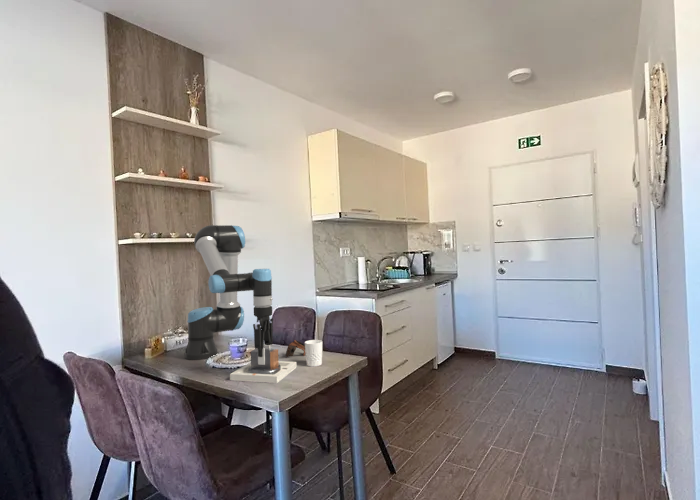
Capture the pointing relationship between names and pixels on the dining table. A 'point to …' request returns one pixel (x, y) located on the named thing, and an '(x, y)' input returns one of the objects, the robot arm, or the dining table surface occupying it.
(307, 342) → the white cup
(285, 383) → the dining table surface
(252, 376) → the dial panel
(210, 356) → the robot arm
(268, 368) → the dial
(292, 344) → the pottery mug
